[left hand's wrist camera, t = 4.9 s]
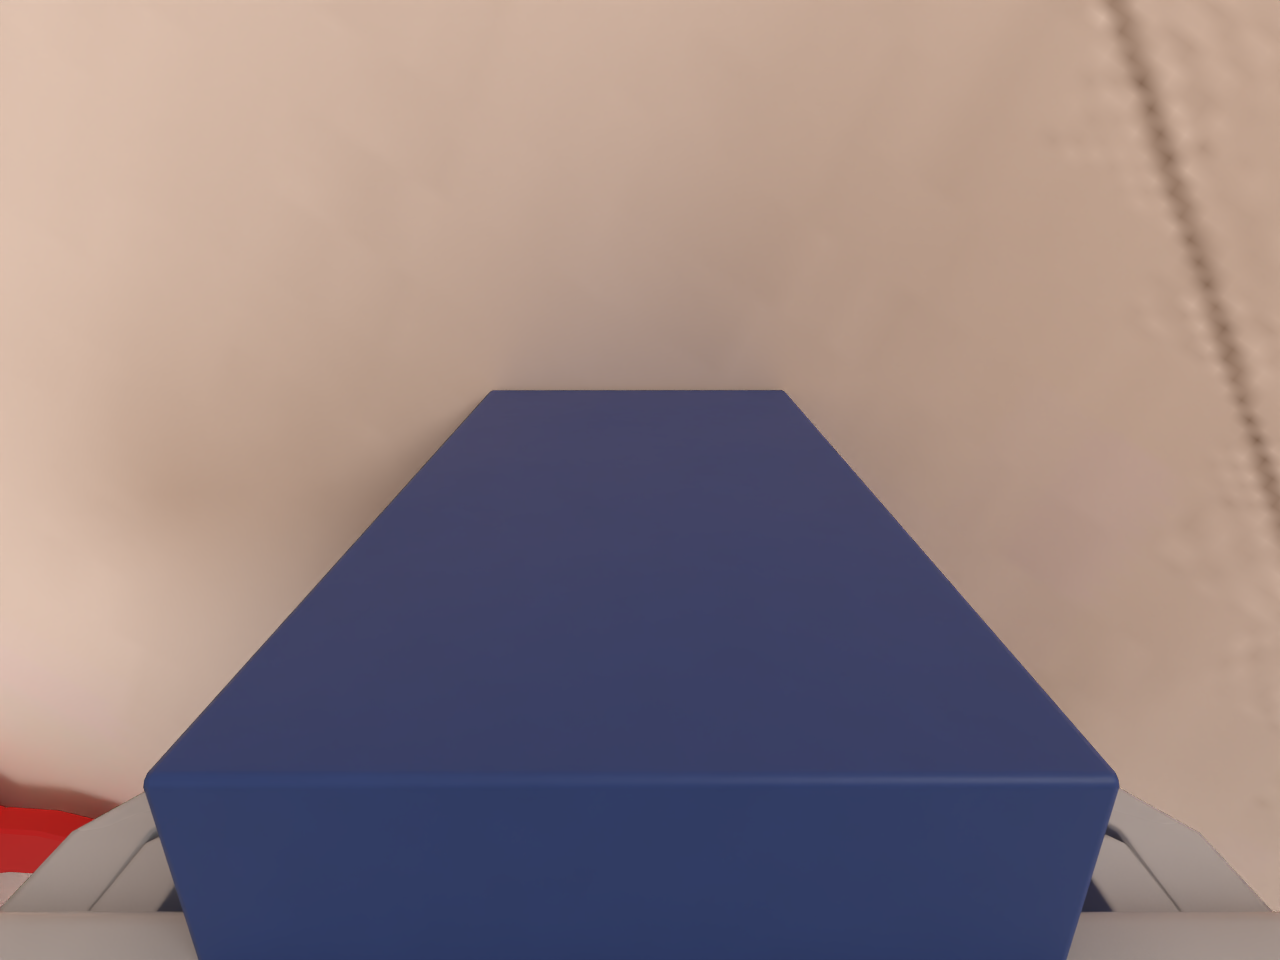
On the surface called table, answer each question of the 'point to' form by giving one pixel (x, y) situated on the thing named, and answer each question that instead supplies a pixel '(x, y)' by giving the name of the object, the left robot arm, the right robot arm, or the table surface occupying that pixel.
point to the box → (633, 719)
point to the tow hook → (33, 836)
